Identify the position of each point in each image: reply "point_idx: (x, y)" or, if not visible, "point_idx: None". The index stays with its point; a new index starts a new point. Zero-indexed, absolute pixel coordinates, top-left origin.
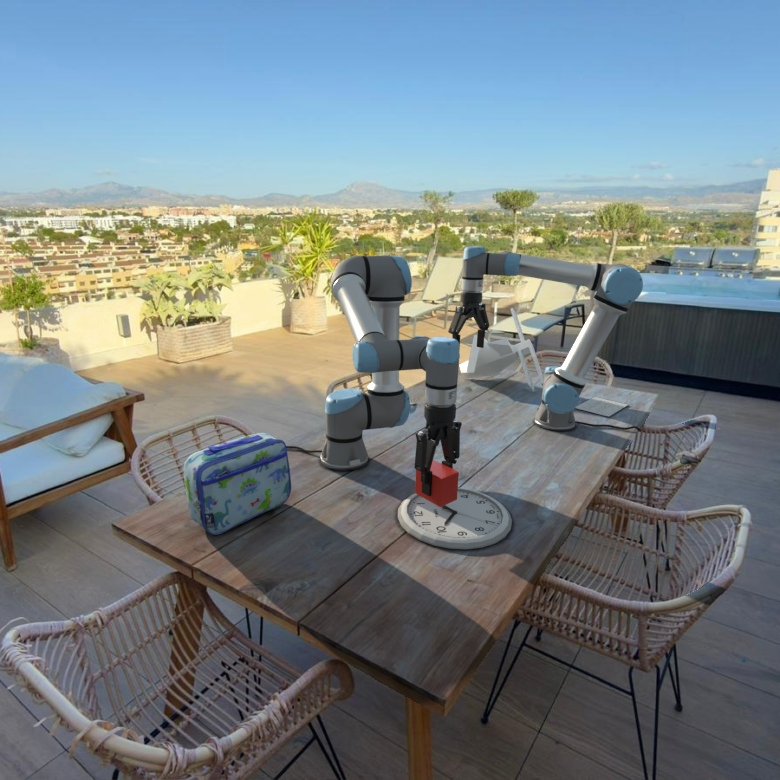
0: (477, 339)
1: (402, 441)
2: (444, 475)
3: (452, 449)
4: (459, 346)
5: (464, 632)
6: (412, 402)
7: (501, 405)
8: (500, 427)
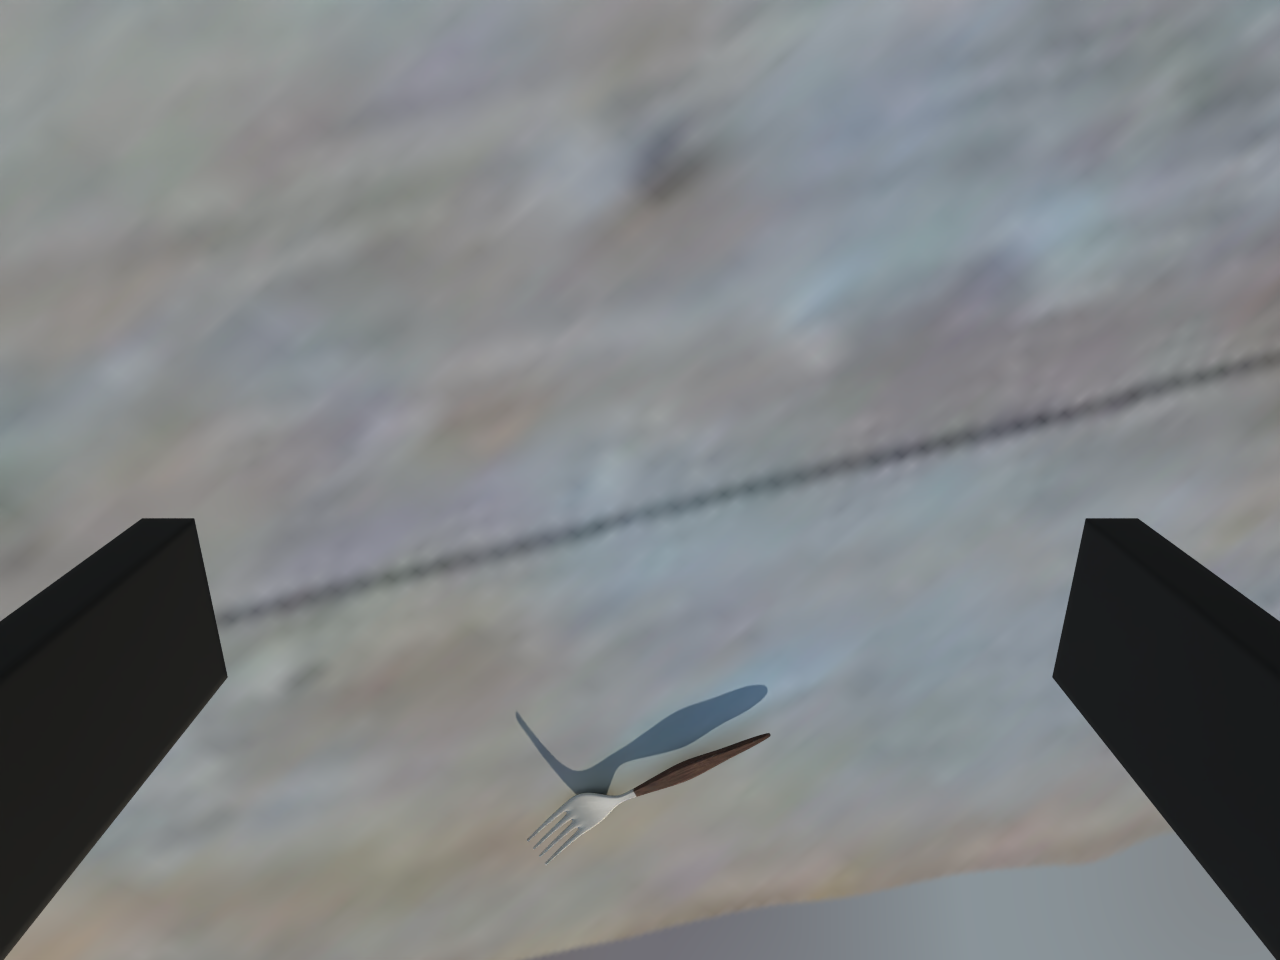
0: (119, 796)
1: (1198, 372)
2: None
3: None
4: (1195, 597)
5: None
6: (585, 815)
7: (18, 413)
8: (407, 71)
